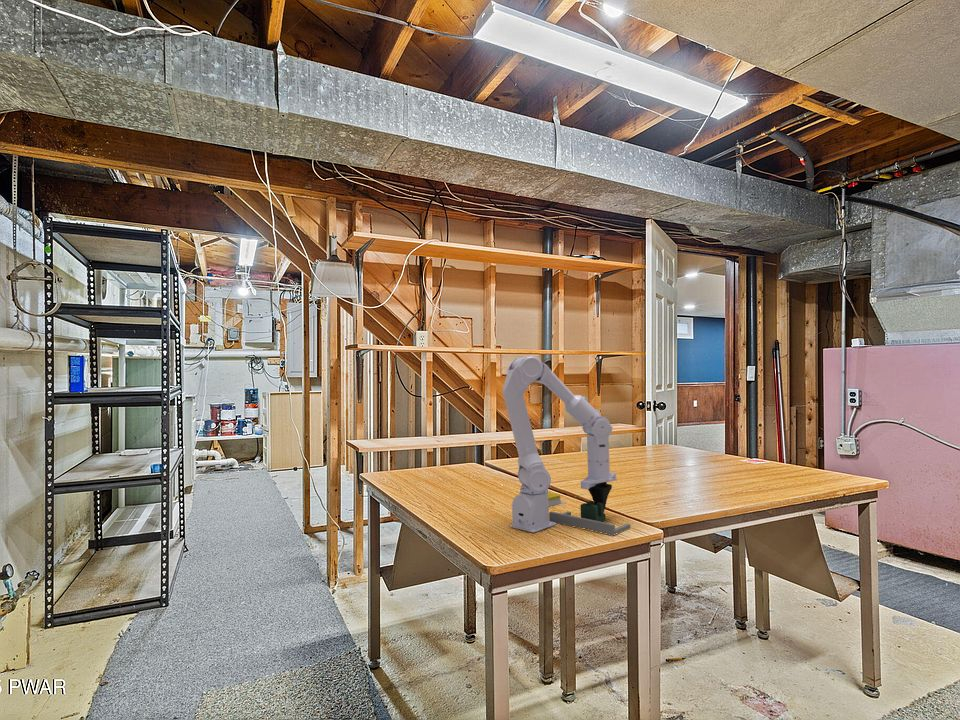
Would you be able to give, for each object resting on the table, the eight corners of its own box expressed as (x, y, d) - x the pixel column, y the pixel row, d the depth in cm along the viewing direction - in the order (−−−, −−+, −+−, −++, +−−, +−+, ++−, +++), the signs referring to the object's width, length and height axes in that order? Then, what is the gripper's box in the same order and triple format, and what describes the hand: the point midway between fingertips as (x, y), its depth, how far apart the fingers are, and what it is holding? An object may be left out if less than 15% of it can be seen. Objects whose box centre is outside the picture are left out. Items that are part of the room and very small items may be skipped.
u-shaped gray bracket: (612, 536, 123) (612, 525, 123) (549, 521, 136) (549, 512, 136) (630, 528, 129) (630, 518, 129) (567, 514, 142) (567, 505, 142)
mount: (589, 529, 129) (588, 509, 129) (574, 525, 132) (573, 506, 132) (610, 519, 137) (609, 500, 137) (595, 516, 140) (595, 497, 140)
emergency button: (509, 492, 154) (545, 485, 163) (510, 507, 154) (545, 499, 163) (530, 497, 147) (566, 490, 156) (530, 513, 147) (567, 504, 156)
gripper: (596, 465, 129) (598, 520, 128) (625, 458, 139) (627, 508, 139) (573, 463, 134) (575, 515, 133) (602, 455, 144) (604, 504, 144)
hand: (600, 511), depth 136 cm, fingers closed
